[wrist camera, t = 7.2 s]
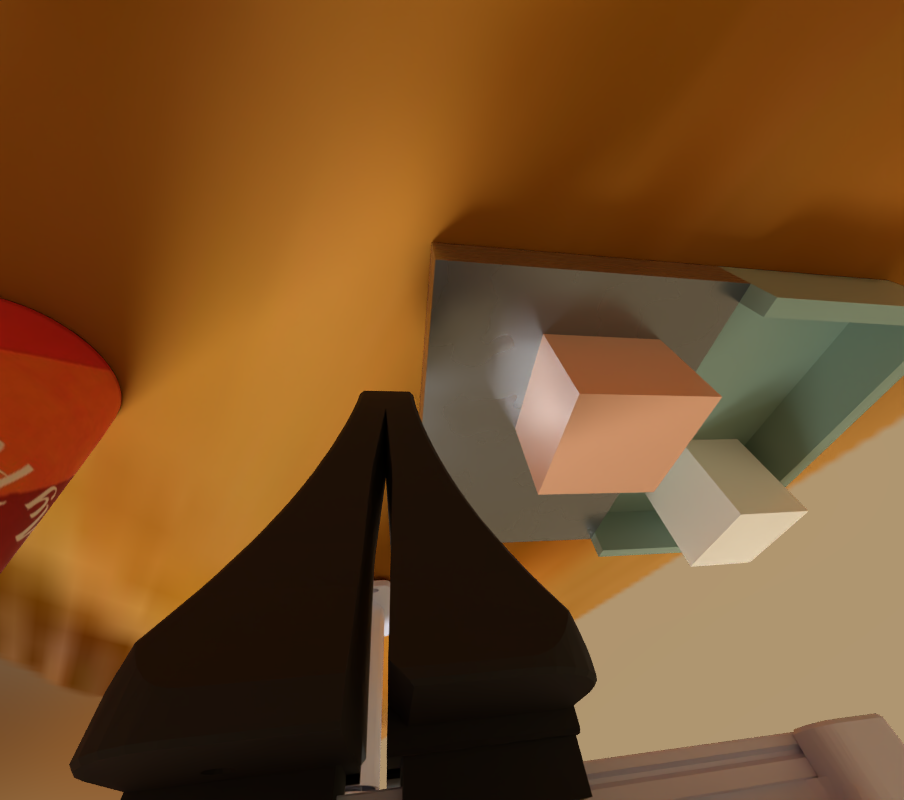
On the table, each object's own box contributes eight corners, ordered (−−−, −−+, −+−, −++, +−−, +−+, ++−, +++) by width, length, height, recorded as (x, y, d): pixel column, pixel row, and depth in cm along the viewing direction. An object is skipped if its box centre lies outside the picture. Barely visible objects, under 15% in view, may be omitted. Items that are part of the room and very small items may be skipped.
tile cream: (690, 566, 17) (749, 562, 17) (740, 514, 14) (808, 511, 15) (645, 493, 20) (695, 491, 20) (679, 440, 17) (737, 438, 18)
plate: (411, 519, 19) (412, 546, 18) (431, 242, 11) (435, 259, 10) (580, 514, 21) (590, 538, 20) (717, 266, 12) (751, 283, 11)
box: (580, 514, 21) (598, 556, 19) (717, 266, 12) (777, 297, 10) (690, 510, 22) (718, 550, 20) (888, 280, 13) (971, 311, 11)
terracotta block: (514, 428, 14) (538, 494, 12) (543, 333, 11) (579, 393, 9) (613, 429, 14) (653, 492, 12) (660, 339, 12) (722, 396, 10)
